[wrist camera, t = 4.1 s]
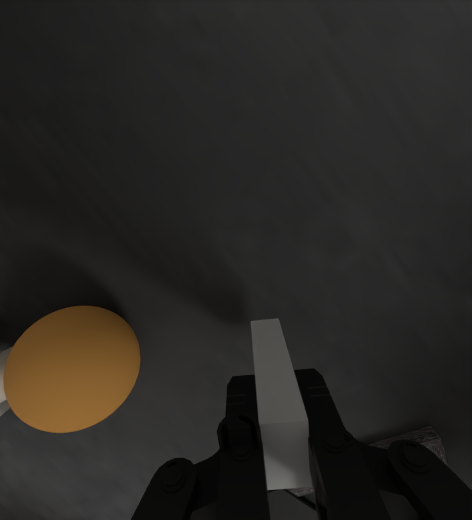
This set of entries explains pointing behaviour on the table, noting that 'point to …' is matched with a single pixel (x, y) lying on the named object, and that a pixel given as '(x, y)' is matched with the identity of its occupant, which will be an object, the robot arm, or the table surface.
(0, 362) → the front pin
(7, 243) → the table surface
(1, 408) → the pin
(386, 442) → the picture frame
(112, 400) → the ball
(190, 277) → the table surface
